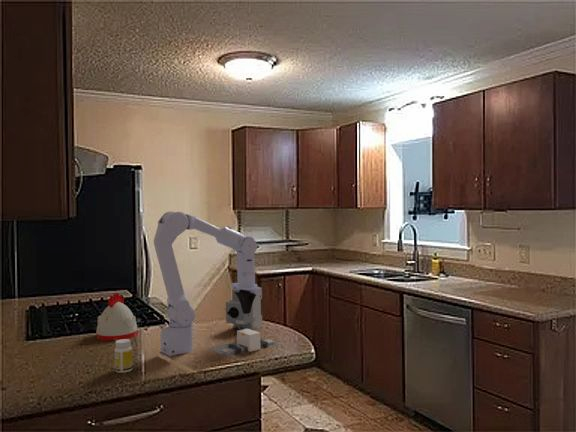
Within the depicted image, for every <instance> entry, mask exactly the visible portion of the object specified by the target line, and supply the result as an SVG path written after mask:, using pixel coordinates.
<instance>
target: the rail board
mask: <svg viewBox="0 0 576 432" xmlns="http://www.w3.org/2000/svg"><path fill="white" fill-rule="evenodd" d="M279 345H281V344H280V343H277V342H275V341H274V340H272V339H266V338H262V337H260V350H262V349H267V348H270V347H272V348H273V347H275V346H276V347H277V346H279ZM206 349H207V350H210V351H212V352H215V353H216V354H220V355H222V356H224V357H227V358H229V357H233V356H237V355H242V354H246V353H250V352H249V351H248V347H246V346H243V345H241V346H237V341H233V342H229V343H224V344H220V345H215V346H211V347H207V348H206Z"/></svg>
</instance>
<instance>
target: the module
mask: <svg viewBox="0 0 576 432" xmlns="http://www.w3.org/2000/svg"><path fill="white" fill-rule="evenodd" d="M260 338H261V332H259V331H257V330H254V329H252V330H250V329H247V328H246V329H243V328H241V329H238V330H236V342H237V346H241V345H243V346H246V347H248V351H249V352H248V353H250V352H254V351H255V352H256V351H259V350H261V349H260Z"/></svg>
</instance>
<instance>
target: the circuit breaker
mask: <svg viewBox="0 0 576 432" xmlns="http://www.w3.org/2000/svg"><path fill="white" fill-rule="evenodd" d="M258 287H259V288H262V287H260V286H258ZM239 291H240V290H237V289H232V299H230V300H228V301H225V307H224V308H225V309H224V310H225V323H226V324H233V325H232V328H233V329H238V330H242V329H250V330H255V329H262V328H263V326H262V324H263V315H262V301H261V300H262V299H263V293H262V294H258V295H256V297H255V299H254V301H253V304H252V308H251V312H250V313H248V314H244V313H243V311H242V307H241V304H240V301H239V299H238V297H237V295H236V293H237V292H239Z"/></svg>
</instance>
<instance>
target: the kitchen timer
mask: <svg viewBox="0 0 576 432" xmlns="http://www.w3.org/2000/svg"><path fill="white" fill-rule="evenodd" d="M122 296H123V295H120V293H119V292H116V293H113V295H110V296H109V297H110V298H109V299H107V303H108V306H106V307H105V308H104V310H103V311H102V313H101V315H99V316H98V317H97V326H96V334H95V335H96V336H97V337H96V339H97V338H98V339H97V340H99V339H102V340H101V341H106V340H114V341H117V340H121V339H131V338H135V337H136V336H138V332H139V331H138V325H137V322H136V320H137V319H136V316H135V315H134V314H133V312H132V311H131V309H130V308H129V307H128V306H127V305H126V304H124V303H125V302H124V301H125V298H124V297H122Z"/></svg>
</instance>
